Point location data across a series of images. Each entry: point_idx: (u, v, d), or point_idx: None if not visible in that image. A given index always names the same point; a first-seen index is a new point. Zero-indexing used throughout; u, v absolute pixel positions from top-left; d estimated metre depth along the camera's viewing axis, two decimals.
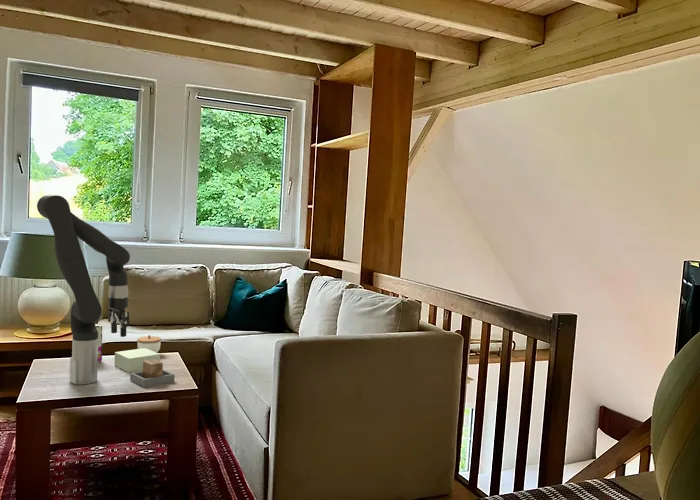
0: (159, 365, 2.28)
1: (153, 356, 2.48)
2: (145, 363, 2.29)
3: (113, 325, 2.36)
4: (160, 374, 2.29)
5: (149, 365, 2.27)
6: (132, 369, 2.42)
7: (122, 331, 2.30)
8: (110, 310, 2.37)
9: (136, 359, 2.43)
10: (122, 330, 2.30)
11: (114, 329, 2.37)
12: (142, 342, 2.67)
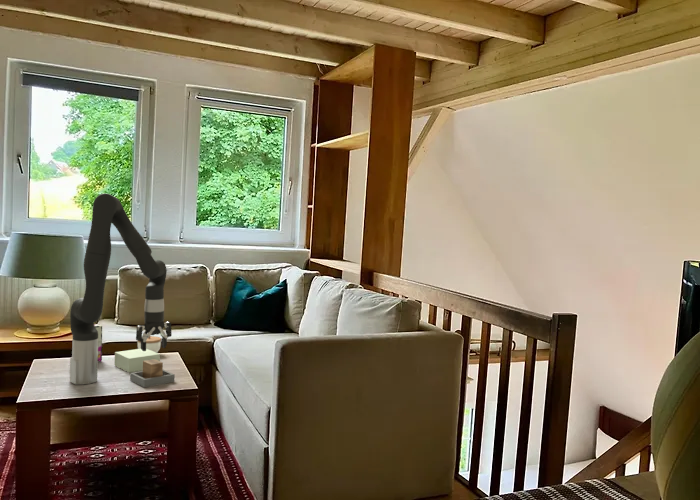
0: (159, 365, 2.28)
1: (153, 356, 2.48)
2: (145, 363, 2.29)
3: None
4: (160, 374, 2.29)
5: (149, 365, 2.27)
6: (132, 369, 2.42)
7: (166, 342, 2.33)
8: (141, 328, 2.25)
9: (136, 359, 2.43)
10: (165, 341, 2.33)
11: None
12: None
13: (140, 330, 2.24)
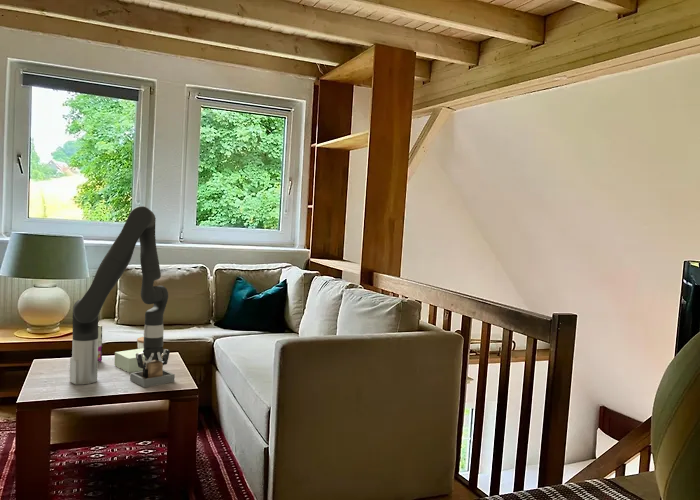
0: (159, 365, 2.28)
1: None
2: None
3: None
4: (160, 374, 2.29)
5: (149, 365, 2.27)
6: (132, 369, 2.42)
7: None
8: (141, 355, 2.25)
9: (136, 359, 2.43)
10: None
11: None
12: (142, 342, 2.67)
13: (140, 358, 2.25)
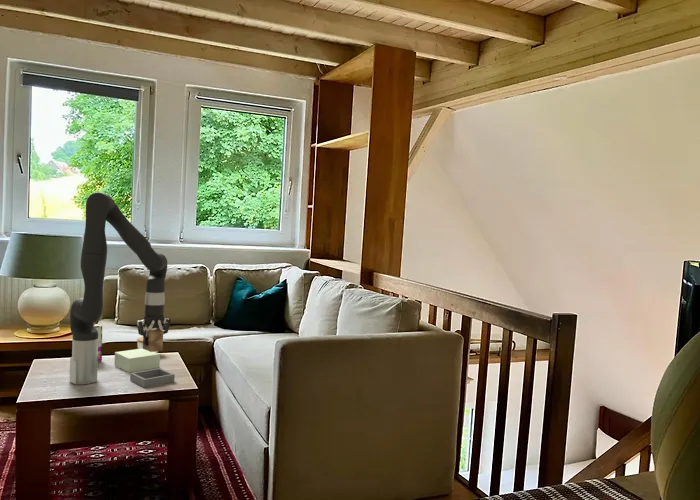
0: (160, 333, 2.27)
1: (153, 356, 2.48)
2: None
3: None
4: (160, 342, 2.28)
5: (149, 333, 2.26)
6: (132, 369, 2.42)
7: None
8: (141, 323, 2.24)
9: (136, 359, 2.43)
10: None
11: None
12: (142, 342, 2.67)
13: (140, 325, 2.24)
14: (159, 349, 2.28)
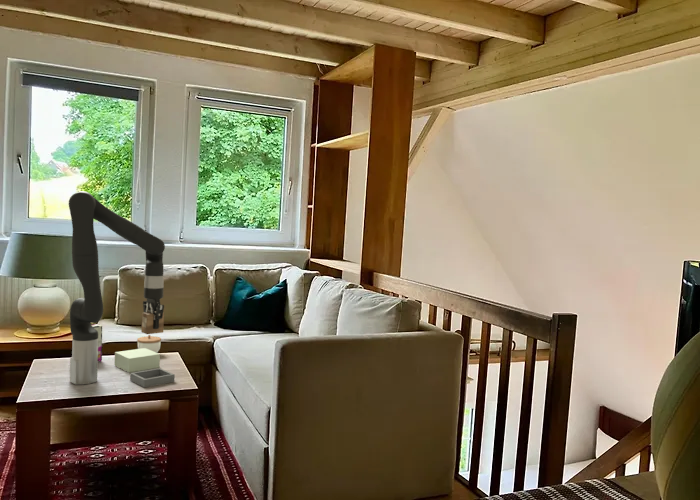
0: None
1: (153, 356, 2.48)
2: (152, 315, 2.29)
3: None
4: None
5: None
6: (132, 369, 2.42)
7: None
8: None
9: (136, 359, 2.43)
10: None
11: None
12: (142, 342, 2.67)
13: None
14: None
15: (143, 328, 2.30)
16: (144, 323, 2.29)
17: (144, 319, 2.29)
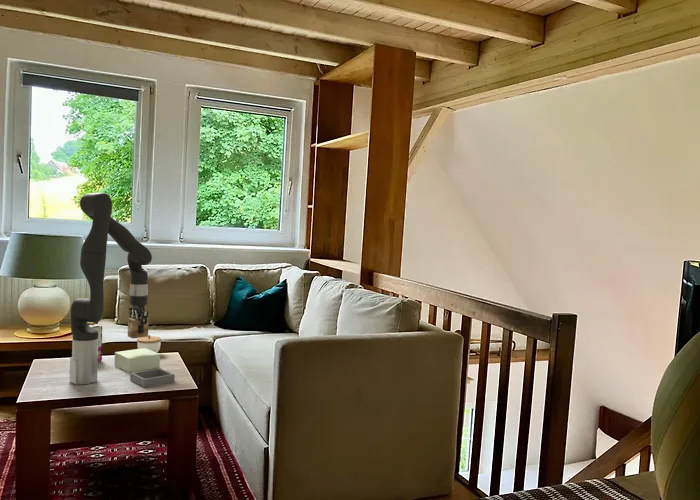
0: None
1: (153, 356, 2.48)
2: None
3: None
4: None
5: None
6: (132, 369, 2.42)
7: None
8: None
9: (136, 359, 2.43)
10: None
11: None
12: (142, 342, 2.67)
13: None
14: None
15: (129, 333, 2.48)
16: (130, 328, 2.47)
17: (130, 324, 2.47)
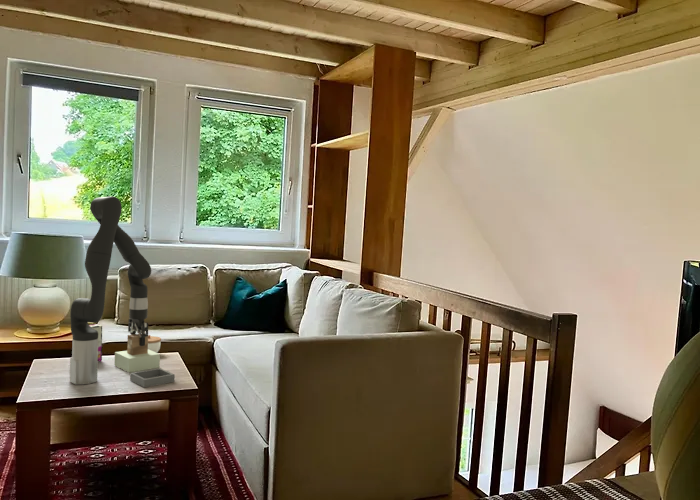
0: None
1: (153, 356, 2.48)
2: (137, 337, 2.47)
3: None
4: None
5: (145, 337, 2.50)
6: (132, 369, 2.42)
7: None
8: None
9: (136, 359, 2.43)
10: None
11: None
12: None
13: None
14: None
15: (129, 349, 2.48)
16: (129, 345, 2.47)
17: (129, 341, 2.47)
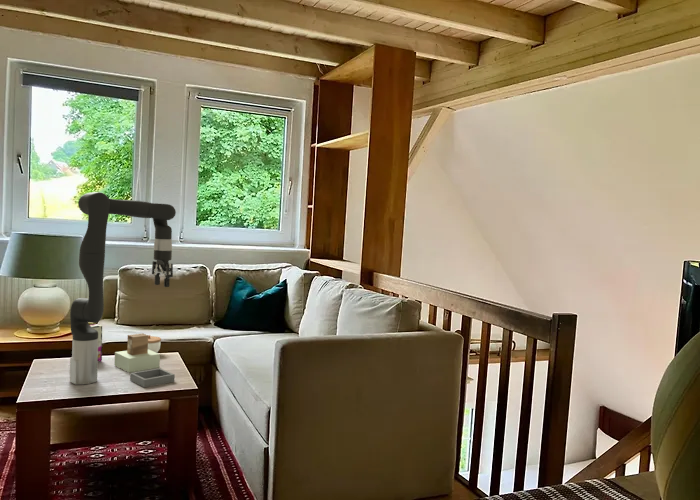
0: None
1: (153, 356, 2.48)
2: (137, 337, 2.47)
3: None
4: None
5: (145, 337, 2.50)
6: (132, 369, 2.42)
7: None
8: None
9: (136, 359, 2.43)
10: None
11: None
12: None
13: None
14: None
15: (129, 349, 2.48)
16: (129, 345, 2.47)
17: (129, 341, 2.47)
